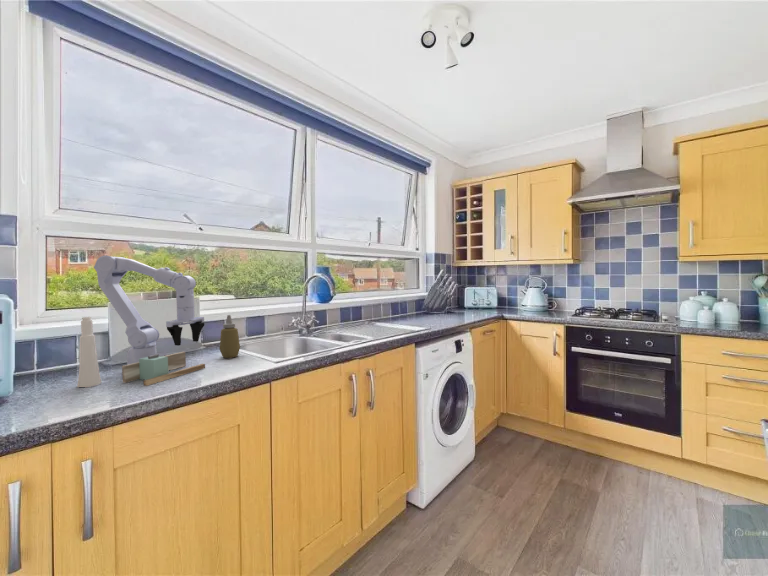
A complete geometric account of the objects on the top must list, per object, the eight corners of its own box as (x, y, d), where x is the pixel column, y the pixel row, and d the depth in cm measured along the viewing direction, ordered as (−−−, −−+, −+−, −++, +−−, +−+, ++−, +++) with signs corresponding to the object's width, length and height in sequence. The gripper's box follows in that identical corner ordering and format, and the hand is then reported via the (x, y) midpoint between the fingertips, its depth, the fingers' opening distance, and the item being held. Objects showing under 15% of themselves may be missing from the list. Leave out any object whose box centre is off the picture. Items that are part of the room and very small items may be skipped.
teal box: (139, 379, 115) (138, 356, 115) (154, 375, 120) (153, 353, 120) (154, 381, 113) (153, 357, 113) (168, 376, 117) (167, 354, 117)
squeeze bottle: (235, 359, 142) (233, 316, 141) (216, 359, 142) (214, 316, 141) (243, 354, 150) (242, 314, 149) (225, 354, 150) (224, 314, 149)
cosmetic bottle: (106, 381, 113) (103, 315, 112) (91, 387, 107) (87, 318, 106) (88, 382, 113) (85, 316, 112) (71, 388, 107) (68, 318, 106)
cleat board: (122, 382, 112) (122, 365, 111) (183, 365, 132) (182, 351, 132) (146, 385, 108) (146, 368, 107) (205, 367, 128) (204, 353, 128)
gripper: (175, 309, 120) (176, 347, 120) (209, 306, 133) (210, 340, 134) (161, 309, 122) (162, 346, 122) (196, 305, 136) (197, 339, 136)
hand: (186, 343), depth 128 cm, fingers open, 7 cm apart
